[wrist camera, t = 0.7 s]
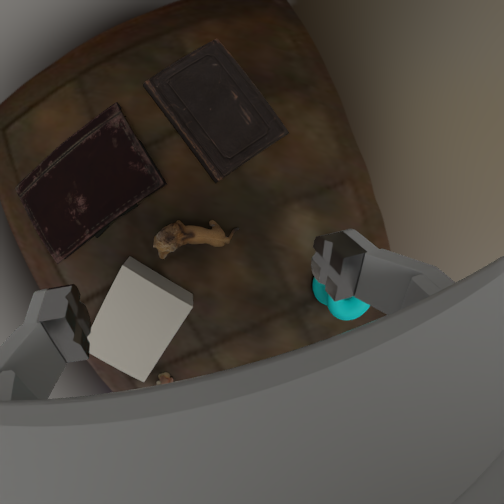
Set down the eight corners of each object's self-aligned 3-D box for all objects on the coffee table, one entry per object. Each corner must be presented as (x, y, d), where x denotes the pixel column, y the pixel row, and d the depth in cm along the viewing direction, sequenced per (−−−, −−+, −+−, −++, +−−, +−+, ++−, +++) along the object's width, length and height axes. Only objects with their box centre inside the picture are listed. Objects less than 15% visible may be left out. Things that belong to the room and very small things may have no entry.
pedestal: (192, 294, 55) (193, 306, 49) (147, 365, 57) (143, 382, 51) (129, 255, 51) (122, 264, 45) (90, 333, 53) (82, 348, 47)
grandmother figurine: (179, 388, 60) (179, 427, 48) (164, 392, 59) (161, 431, 47) (166, 363, 58) (162, 402, 46) (150, 367, 57) (144, 405, 45)
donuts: (349, 263, 49) (385, 284, 52) (325, 249, 58) (359, 269, 61) (320, 313, 50) (359, 329, 53) (301, 292, 60) (337, 308, 62)
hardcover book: (216, 43, 45) (217, 38, 43) (285, 134, 52) (289, 133, 50) (144, 87, 45) (142, 83, 42) (215, 183, 52) (216, 183, 49)
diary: (25, 184, 44) (12, 185, 39) (120, 106, 45) (113, 99, 40) (68, 261, 49) (58, 268, 44) (169, 187, 50) (166, 188, 45)
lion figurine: (160, 250, 52) (153, 264, 43) (156, 221, 51) (148, 230, 42) (239, 241, 54) (247, 253, 46) (237, 212, 53) (245, 219, 45)
